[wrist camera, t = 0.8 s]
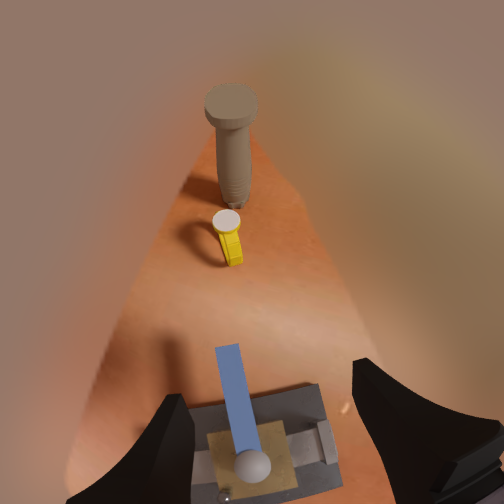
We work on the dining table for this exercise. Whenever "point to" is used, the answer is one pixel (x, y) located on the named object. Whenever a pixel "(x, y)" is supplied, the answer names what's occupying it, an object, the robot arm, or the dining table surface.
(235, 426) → the lever
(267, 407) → the valve
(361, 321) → the dining table surface
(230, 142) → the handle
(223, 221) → the watch
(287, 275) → the dining table surface
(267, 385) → the dining table surface
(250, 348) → the dining table surface
